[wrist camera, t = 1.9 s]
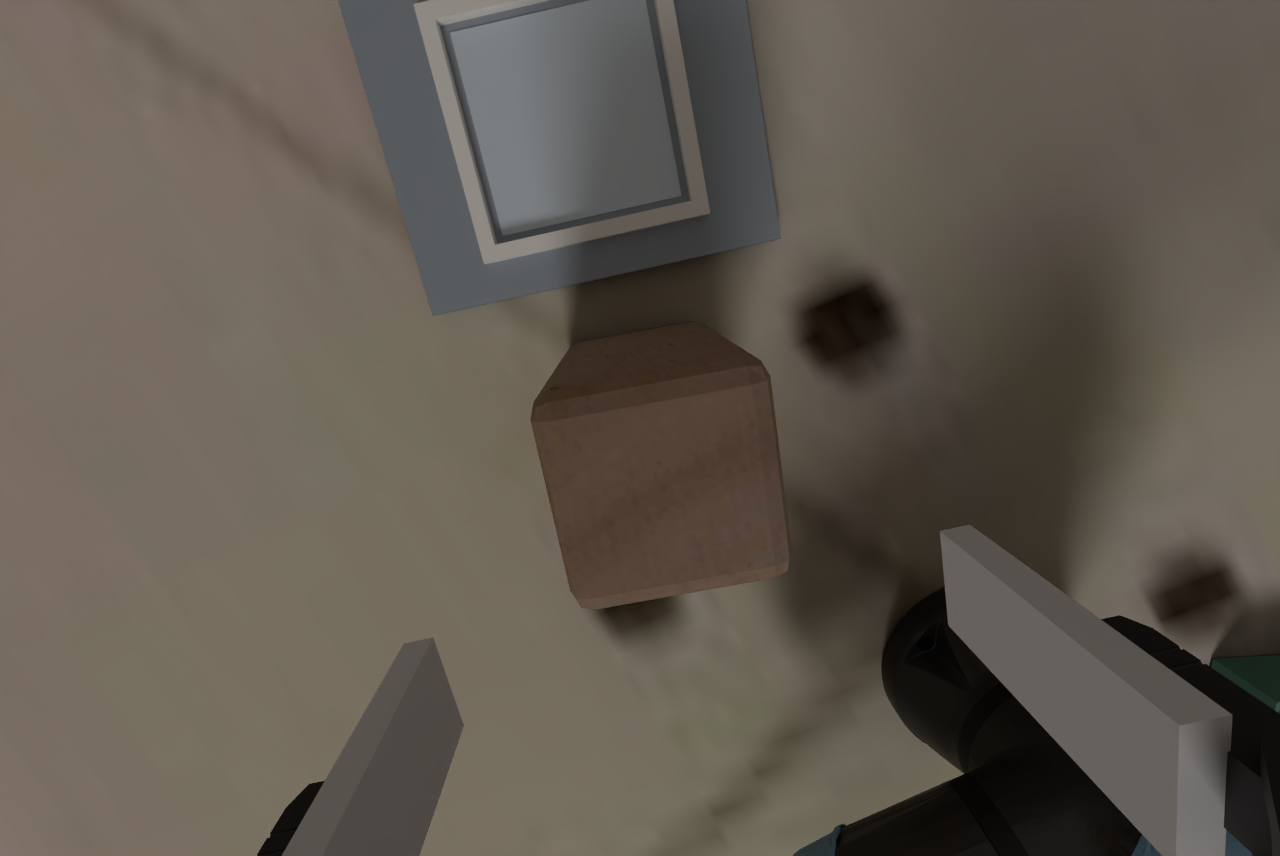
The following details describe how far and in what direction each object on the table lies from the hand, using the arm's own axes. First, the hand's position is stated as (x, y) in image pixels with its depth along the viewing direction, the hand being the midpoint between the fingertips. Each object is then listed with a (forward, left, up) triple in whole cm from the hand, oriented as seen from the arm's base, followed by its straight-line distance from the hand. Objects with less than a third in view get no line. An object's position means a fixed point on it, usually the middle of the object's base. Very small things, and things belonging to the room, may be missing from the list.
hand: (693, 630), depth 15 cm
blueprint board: (+1, -19, -30) cm, 35 cm away
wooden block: (0, 0, -30) cm, 30 cm away
